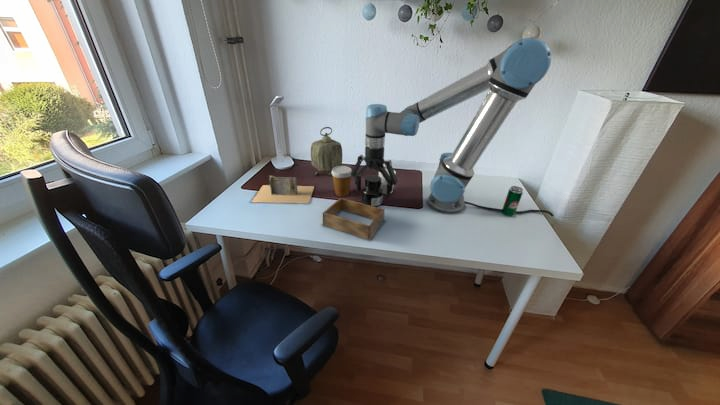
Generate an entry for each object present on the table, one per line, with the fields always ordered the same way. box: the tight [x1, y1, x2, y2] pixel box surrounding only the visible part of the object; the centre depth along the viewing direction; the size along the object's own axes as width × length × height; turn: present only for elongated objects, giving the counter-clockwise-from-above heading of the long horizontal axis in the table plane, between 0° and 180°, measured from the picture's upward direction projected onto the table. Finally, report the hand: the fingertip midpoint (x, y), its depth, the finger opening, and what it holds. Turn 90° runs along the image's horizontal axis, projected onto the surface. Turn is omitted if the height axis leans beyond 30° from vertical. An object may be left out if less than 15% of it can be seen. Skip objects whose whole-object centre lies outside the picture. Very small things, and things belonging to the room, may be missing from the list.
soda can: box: [501, 185, 524, 217], centre depth 111 cm, size 5×5×12 cm
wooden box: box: [322, 197, 385, 241], centre depth 104 cm, size 20×14×6 cm
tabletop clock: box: [310, 126, 343, 177], centre depth 138 cm, size 14×9×25 cm, turn 130°
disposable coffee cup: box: [330, 165, 353, 198], centre depth 123 cm, size 10×10×12 cm
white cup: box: [378, 167, 397, 195], centre depth 127 cm, size 8×8×10 cm
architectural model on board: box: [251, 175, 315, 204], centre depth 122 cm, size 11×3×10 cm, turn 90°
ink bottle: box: [361, 174, 384, 208], centre depth 116 cm, size 10×9×12 cm
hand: (373, 194), depth 116 cm, fingers open, 13 cm apart
